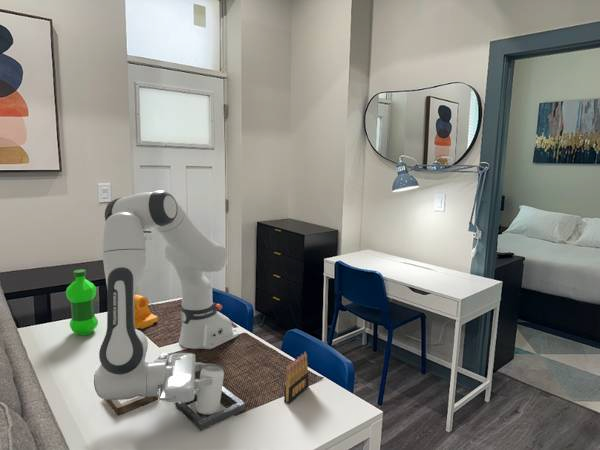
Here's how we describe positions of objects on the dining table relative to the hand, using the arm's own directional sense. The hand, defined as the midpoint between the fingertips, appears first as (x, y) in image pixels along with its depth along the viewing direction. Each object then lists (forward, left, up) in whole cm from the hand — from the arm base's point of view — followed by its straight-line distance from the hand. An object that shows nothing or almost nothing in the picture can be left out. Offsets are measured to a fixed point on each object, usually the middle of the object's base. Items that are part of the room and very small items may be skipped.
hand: (212, 373), depth 119 cm
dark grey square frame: (+1, 0, -11) cm, 11 cm away
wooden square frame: (+16, -19, -11) cm, 27 cm away
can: (+2, +1, -10) cm, 10 cm away
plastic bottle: (+12, -75, -11) cm, 77 cm away
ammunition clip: (-22, +11, -11) cm, 27 cm away
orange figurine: (-8, -68, -11) cm, 70 cm away
